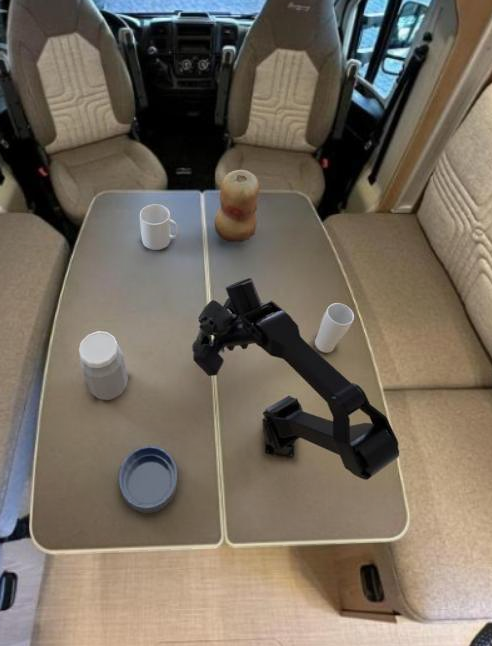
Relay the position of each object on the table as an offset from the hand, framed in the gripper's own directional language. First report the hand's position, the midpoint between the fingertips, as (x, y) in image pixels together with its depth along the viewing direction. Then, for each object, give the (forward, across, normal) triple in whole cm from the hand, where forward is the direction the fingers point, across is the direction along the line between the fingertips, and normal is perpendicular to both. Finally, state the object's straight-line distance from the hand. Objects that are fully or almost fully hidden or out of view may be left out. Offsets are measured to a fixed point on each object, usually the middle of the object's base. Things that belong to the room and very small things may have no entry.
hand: (199, 338), depth 98 cm
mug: (+31, -35, -14) cm, 49 cm away
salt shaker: (+4, 0, +6) cm, 7 cm away
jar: (+22, +15, -4) cm, 27 cm away
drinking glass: (-10, -22, +29) cm, 38 cm away
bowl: (+7, +30, +12) cm, 33 cm away
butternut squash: (+17, -48, +1) cm, 51 cm away
